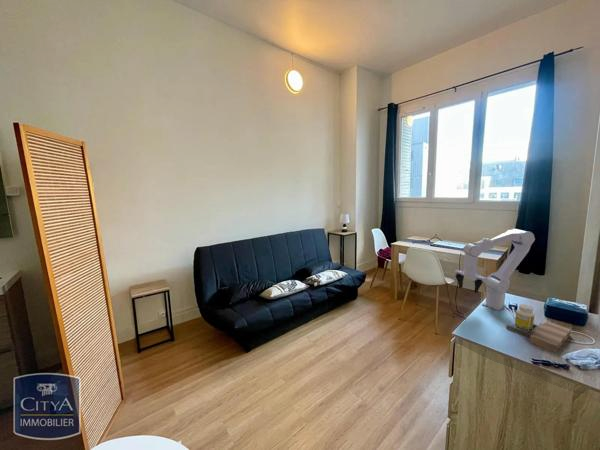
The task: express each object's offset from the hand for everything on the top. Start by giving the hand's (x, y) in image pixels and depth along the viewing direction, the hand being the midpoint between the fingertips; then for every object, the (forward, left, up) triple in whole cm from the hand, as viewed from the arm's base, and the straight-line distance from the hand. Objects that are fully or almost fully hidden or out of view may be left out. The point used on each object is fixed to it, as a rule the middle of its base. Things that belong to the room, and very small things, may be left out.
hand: (468, 289), depth 135 cm
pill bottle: (+2, +25, -10) cm, 27 cm away
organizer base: (+2, +29, -9) cm, 31 cm away
